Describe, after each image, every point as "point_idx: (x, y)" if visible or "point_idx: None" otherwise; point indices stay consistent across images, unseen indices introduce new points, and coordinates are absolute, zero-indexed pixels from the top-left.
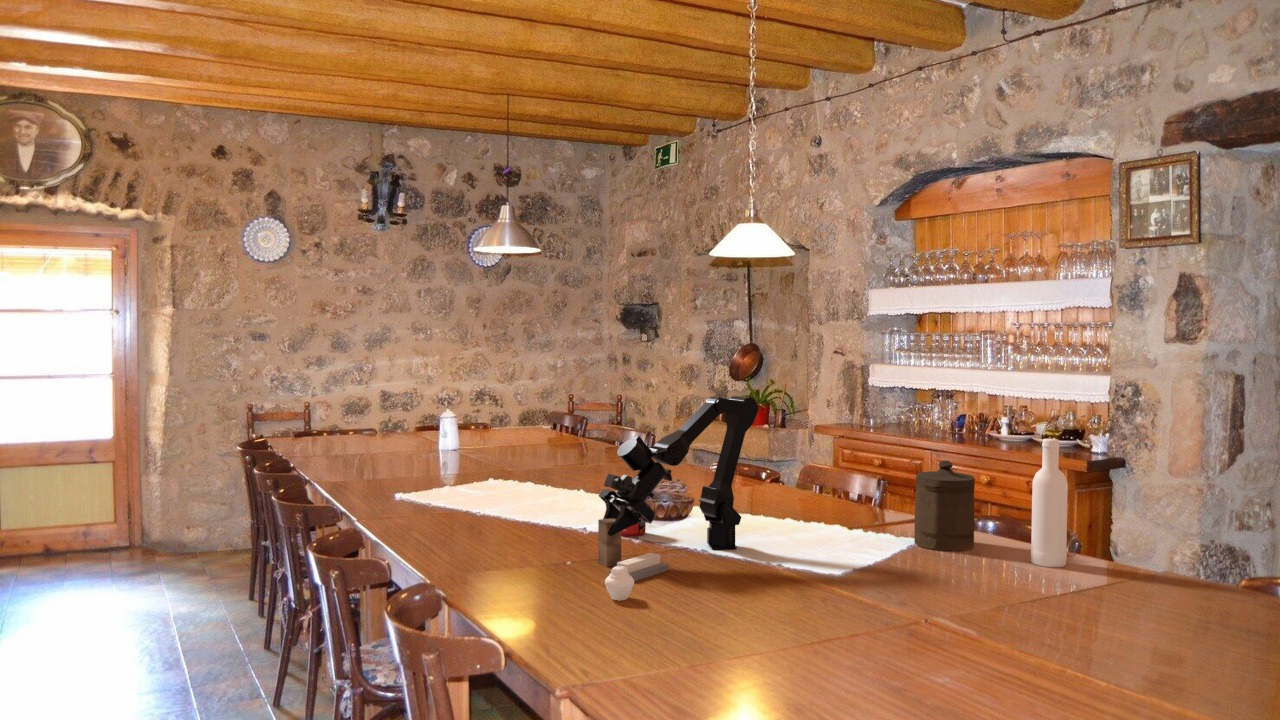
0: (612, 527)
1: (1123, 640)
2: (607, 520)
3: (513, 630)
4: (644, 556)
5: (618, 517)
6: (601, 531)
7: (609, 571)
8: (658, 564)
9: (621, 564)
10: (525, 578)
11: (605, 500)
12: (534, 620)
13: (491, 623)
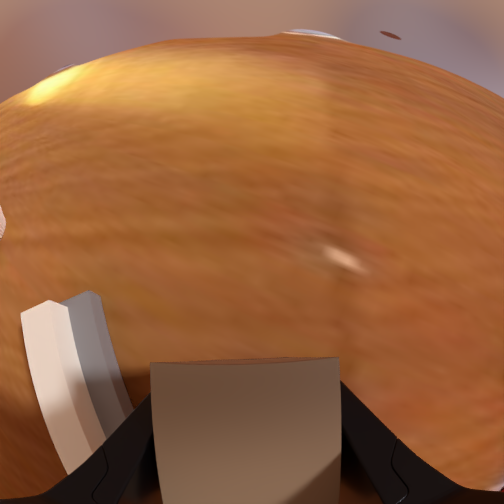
0: (140, 404)
1: None
2: (250, 428)
3: (41, 89)
4: (71, 441)
5: (102, 482)
6: (262, 361)
7: (87, 291)
8: None
9: (37, 307)
10: (225, 109)
11: None
12: (40, 104)
13: (72, 71)
